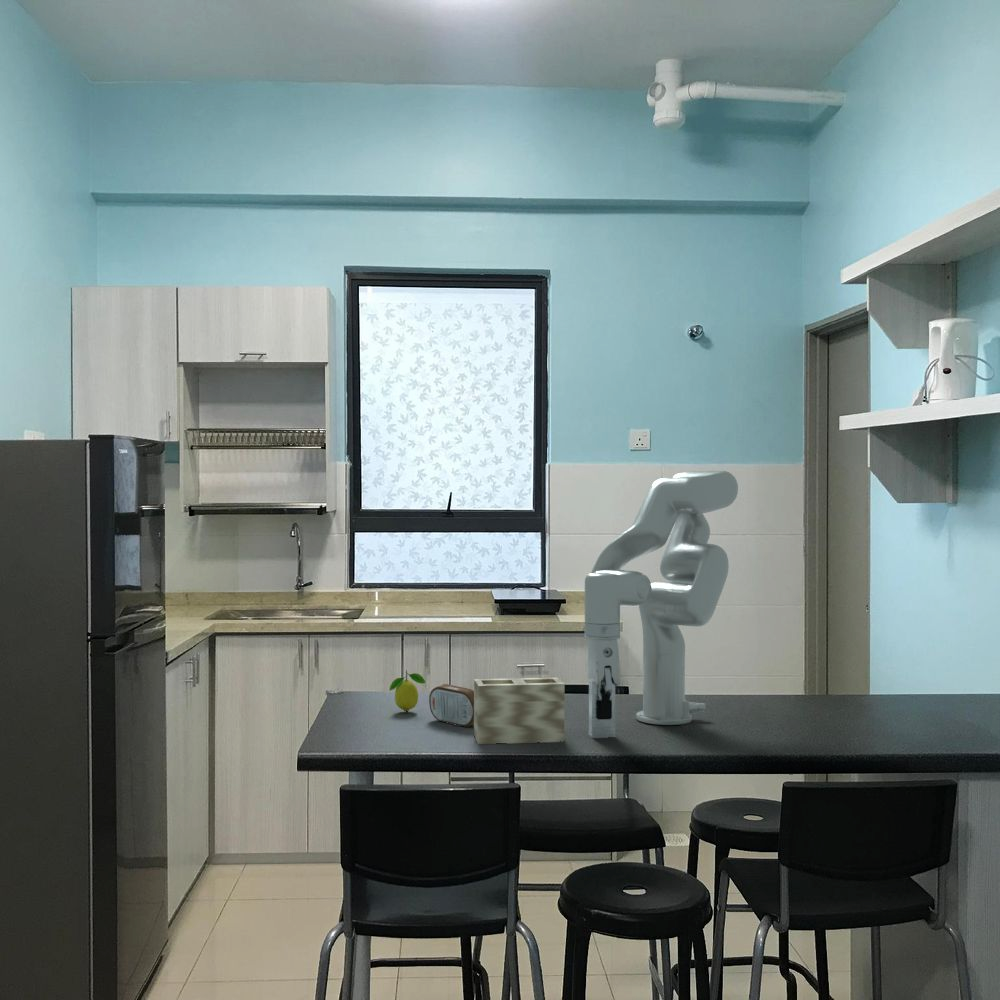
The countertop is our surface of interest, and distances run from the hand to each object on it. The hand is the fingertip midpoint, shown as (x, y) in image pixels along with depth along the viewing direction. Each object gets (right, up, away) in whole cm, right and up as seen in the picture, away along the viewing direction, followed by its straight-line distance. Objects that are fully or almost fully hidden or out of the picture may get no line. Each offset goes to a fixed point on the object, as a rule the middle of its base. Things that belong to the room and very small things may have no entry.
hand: (601, 716), depth 213 cm
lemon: (-44, -4, +24) cm, 50 cm away
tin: (-32, -5, +12) cm, 34 cm away
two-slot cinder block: (-18, -4, -2) cm, 18 cm away
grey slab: (0, -4, 0) cm, 4 cm away
